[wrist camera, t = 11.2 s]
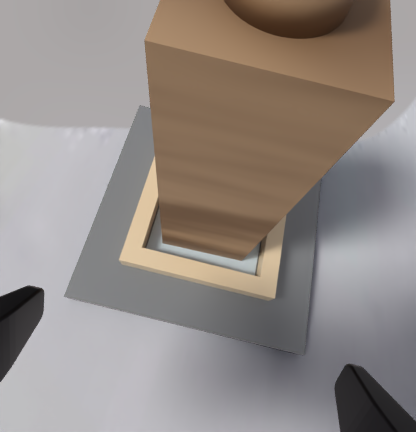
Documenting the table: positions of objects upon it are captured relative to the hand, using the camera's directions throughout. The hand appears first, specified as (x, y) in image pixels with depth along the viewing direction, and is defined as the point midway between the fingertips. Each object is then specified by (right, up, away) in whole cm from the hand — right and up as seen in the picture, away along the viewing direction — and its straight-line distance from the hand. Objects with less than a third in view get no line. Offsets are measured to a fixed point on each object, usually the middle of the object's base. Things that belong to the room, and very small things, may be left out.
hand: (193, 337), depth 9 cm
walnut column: (+1, +4, +11) cm, 12 cm away
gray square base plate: (+1, +3, +12) cm, 12 cm away
